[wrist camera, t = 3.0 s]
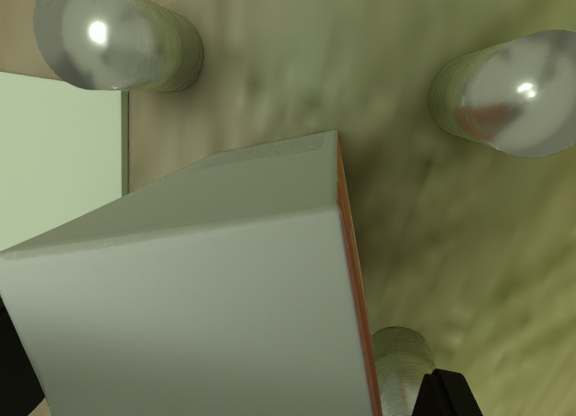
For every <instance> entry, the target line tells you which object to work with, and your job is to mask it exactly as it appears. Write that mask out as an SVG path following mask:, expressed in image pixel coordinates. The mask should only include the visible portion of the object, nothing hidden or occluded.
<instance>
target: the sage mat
mask: <svg viewBox="0 0 576 416" xmlns="http://www.w3.org/2000/svg"><path fill="white" fill-rule="evenodd" d="M127 194H128V91H105V90H85V89H81V88H78V87H75V86H73V85H71V84H69V83H67V82H66V81H62V80H56V79H49V78H43V77H36V76H30V75H23V74H17V73H10V72H4V71H0V251H2V250H5V249H7V248H9V247H12V246H14V245H16V244H19V243H21V242H23V241H26V240H28V239H30V238H33V237H35V236H37V235H40V234H42V233H44V232H46V231H49V230H51V229H53V228H56V227H58V226H60V225H62V224H65V223H67V222H69V221H71V220H73V219H75V218H78V217H80V216H82V215H84V214H86V213H88V212H91V211H93V210H95V209H97V208H99V207H101V206H103V205H106V204H108V203H110V202H112V201H114V200H116V199H118V198H121V197H123V196H125V195H127Z"/></svg>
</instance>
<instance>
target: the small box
mask: <svg viewBox="0 0 576 416" xmlns="http://www.w3.org/2000/svg"><path fill="white" fill-rule="evenodd" d="M0 295H1V298H2V300H3V302H4V305H5V307H6V309H7V311H8V313H9V315H10V317H11V320H12V322H13V324H14V326H15V329H16V331H17V333H18V336H19V338H20V340H21V343H22V345H23V347H24V349H25V351H26V354H27V356H28V358H29V360H30V362H31V364H32V366H33V369H34V371H35V373H36V375H37V377H38V380H39V382H40V384H41V387H42V389H43V392H44V395H45V398H46V400H47V403H48V406H49V408H50V411H51V414H52V416H383V413H382V407H381V400H380V394H379V387H378V380H377V373H376V367H375V360H374V353H373V346H372V339H371V333H370V326H369V319H368V311H367V302H366V294H365V287H364V281H363V275H362V270H361V265H360V259H359V254H358V248H357V243H356V237H355V231H354V225H353V220H352V214H351V208H350V202H349V196H348V190H347V184H346V178H345V172H344V165H343V159H342V153H341V147H340V141H339V134H338V132H337V131H336V130H335V131H329V132H323V133H318V134H313V135H308V136H303V137H298V138H293V139H287V140H282V141H277V142H272V143H267V144H262V145H256V146H251V147H246V148H241V149H235V150H230V151H225V152H219V153H216V154H214V155H211V156H209V157H207V158H205V159H202V160H200V161H198V162H196V163H194V164H191V165H189V166H187V167H185V168H183V169H181V170H179V171H177V172H174V173H172V174H170V175H168V176H166V177H164V178H162V179H160V180H158V181H155V182H153V183H151V184H149V185H147V186H145V187H142V188H140V189H138V190H136V191H134V192H132V193H129V194H127V195H125V196H123V197H121V198H118V199H116V200H114V201H112V202H110V203H108V204H106V205H103V206H101V207H99V208H97V209H95V210H93V211H91V212H88V213H86V214H84V215H82V216H80V217H78V218H75V219H73V220H71V221H69V222H67V223H65V224H62V225H60V226H58V227H56V228H53V229H51V230H49V231H46V232H44V233H42V234H40V235H37V236H35V237H33V238H30V239H28V240H26V241H23V242H21V243H19V244H16V245H14V246H12V247H9V248H7V249H5V250H2V251H0Z"/></svg>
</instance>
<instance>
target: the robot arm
mask: <svg viewBox="0 0 576 416" xmlns="http://www.w3.org/2000/svg"><path fill="white" fill-rule="evenodd" d="M44 398H45V395H44V392H43V389H42V387H41V384H40V382H39V380H38V377H37V375H36V373H35V371H34V369H33V366H32V364H31V362H30V360H29V358H28V356H27V354H26V351H25V349H24V347H23V345H22V343H21V340H20V338H19V336H18V333H17V331H16V329H15V326H14V324H13V322H12V320H11V317H10V315H9V313H8V311H7V309H6V307H5V305H4V302H3V300H2V298H1V295H0V416H28V415H29V414H30V413H31V412H32V411H33V410H34V409H35V408H36V407H37V406H38V405H39V404H40V403H41V402H42V400H43V399H44ZM411 416H483V415H482V413H481V411H480V408H479V406H478V404H477V402H476V400H475V398H474V396H473V394H472V392H471V390H470V388H469V386H468V384H467V381H466V379H465V378H464V376H463V375H462V374H461V373H457V372H452V371H447V370H442V369H434V370H433V371H432V374H428V373H426V374H425V375H424V377H423V379H422V383H421V386H420V389H419V392H418V396H417V399H416V402H415V405H414V409H413V412H412V415H411Z"/></svg>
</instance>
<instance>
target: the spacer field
mask: <svg viewBox="0 0 576 416" xmlns="http://www.w3.org/2000/svg"><path fill="white" fill-rule="evenodd" d="M33 22H34V33H35V37H36V41H37V44H38V47H39V49H40V52H41V54H42V56H43V57H44V59H45V61H46V62H47V64H48V65H49V66H50V68H51V69H52V70H53V71H54V72H55V73H56V74H57V75H58V76H59V77H60V78H61V79H63V80H64V81H66V82H67V83H69V84H71V85H73V86H75V87H78V88H81V89H85V90H105V91H169V92H172V91H179V90H182V89H184V88H186V87H188V86H189V85H191V84H192V83H193V82H194V81H195V79H196V78H197V77H198V75H199V73H200V71H201V68H202V64H203V46H202V42H201V39H200V36H199V34H198V32H197V31H196V29H195V28H194V26H193V25H192V24H191V23H190V22H189V21H188V20H187V19H185V18H184V17H182V16H180V15H179V14H177V13H175V12H173V11H170V10H168V9H166V8H164V7H162V6H160V5H158V4H156V3H154V2H152V1H150V0H37V1H36V4H35V8H34V17H33ZM429 108H430V112H431V115H432V117H433V119H434V120H435V122H436V123H437V124H438V125H439V126H440V127H441V128H442V129H443V130H445V131H447V132H448V133H451V134H454V135H457V136H459V137H462V138H465V139H468V140H471V141H474V142H477V143H479V144H482V145H485V146H488V147H491V148H494V149H497V150H499V151H502V152H505V153H508V154H511V155H514V156H518V157H526V158H538V157H544V156H549V155H552V154H555V153H558V152H561V151H563V150H565V149H567V148H569V147H571V146H572V145H574V144H575V143H576V33H574V32H570V31H565V30H548V31H542V32H537V33H534V34H531V35H527V36H524V37H521V38H518V39H515V40H511V41H508V42H505V43H502V44H498V45H495V46H492V47H489V48H486V49H482V50H479V51H476V52H473V53H469V54H466V55H463V56H460V57H458V58H456V59H454V60H452V61H451V62H449V63H448V64H447V65H445V66H444V67H443V68H442V69H441V70H440V72H439V73H438V74H437V76H436V77H435V79H434V81H433V83H432V85H431V89H430V93H429ZM371 339H372V346H373V353H374V360H375V367H376V373H377V380H378V387H379V394H380V400H381V407H382V413H383V416H411V415H412V412H413V409H414V405H415V402H416V399H417V396H418V392H419V389H420V386H421V383H422V379H423V377H424V375H425V374H426V373H428V374H432V371H433V370H434V369H436V367H435V364H434V362H433V359H432V356H431V353H430V350H429V348H428V345H427V343H426V341H425V340H424V339H423V338H422V337H421V336H420V335H419V334H418V333H416V332H414V331H412V330H410V329H407V328H401V327H392V328H387V329H383V330H381V331H379V332H377V333H376V334H375V335H373V336H372V337H371Z"/></svg>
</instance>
